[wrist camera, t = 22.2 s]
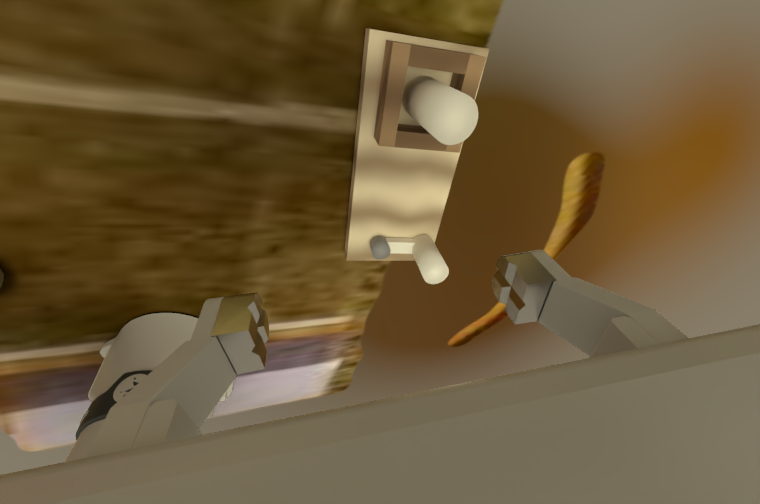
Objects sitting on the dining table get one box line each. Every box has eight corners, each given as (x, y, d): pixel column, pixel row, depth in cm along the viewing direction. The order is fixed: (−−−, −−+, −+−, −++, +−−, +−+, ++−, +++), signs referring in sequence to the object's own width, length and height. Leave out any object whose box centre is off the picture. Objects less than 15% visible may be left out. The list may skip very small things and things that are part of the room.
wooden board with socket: (424, 250, 48) (436, 273, 44) (344, 250, 45) (348, 274, 41) (479, 47, 34) (504, 52, 29) (365, 28, 31) (375, 30, 26)
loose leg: (425, 124, 35) (458, 152, 28) (395, 106, 33) (421, 132, 26) (447, 88, 33) (487, 108, 26) (415, 67, 31) (450, 82, 24)
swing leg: (368, 252, 43) (376, 284, 38) (371, 232, 41) (380, 263, 36) (429, 254, 45) (444, 284, 40) (434, 234, 44) (452, 263, 38)
